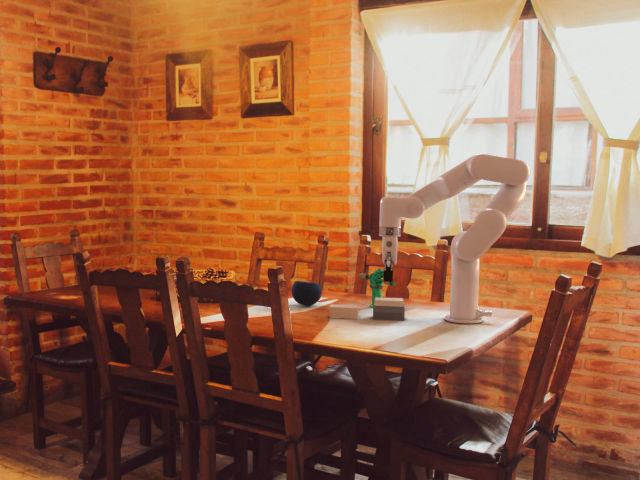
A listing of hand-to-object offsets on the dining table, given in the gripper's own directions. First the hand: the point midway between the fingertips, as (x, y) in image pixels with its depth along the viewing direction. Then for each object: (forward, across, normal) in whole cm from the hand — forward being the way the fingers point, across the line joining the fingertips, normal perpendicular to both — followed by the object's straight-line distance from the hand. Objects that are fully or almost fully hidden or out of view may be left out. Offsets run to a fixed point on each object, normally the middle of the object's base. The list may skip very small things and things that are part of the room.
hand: (388, 279), depth 267 cm
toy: (+14, +20, +3) cm, 25 cm away
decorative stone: (+15, +20, +31) cm, 40 cm away
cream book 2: (+14, 0, +15) cm, 21 cm away
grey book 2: (+14, 0, -1) cm, 14 cm away
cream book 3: (+9, 0, -1) cm, 9 cm away
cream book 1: (+12, 0, +15) cm, 20 cm away
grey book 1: (+12, 0, -1) cm, 12 cm away
